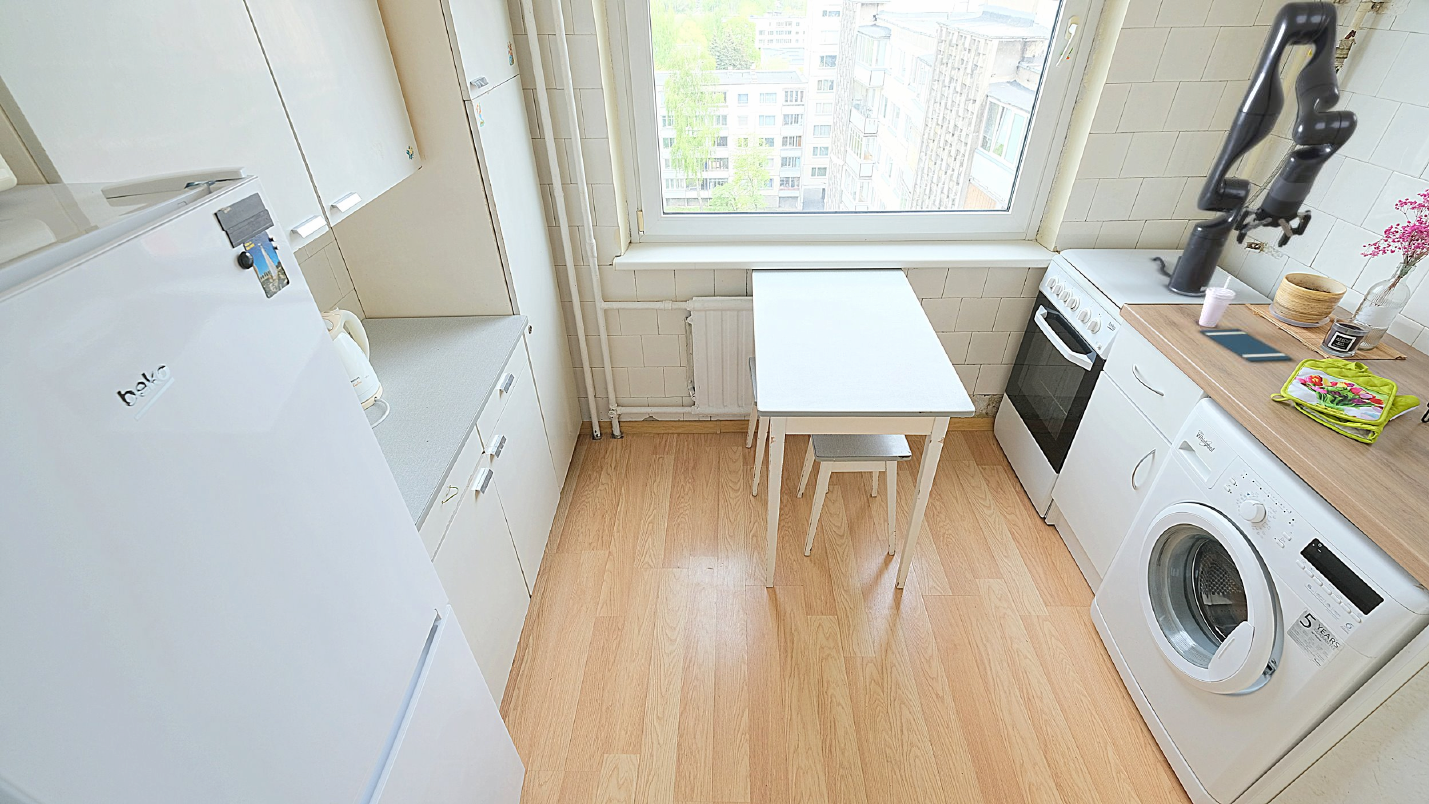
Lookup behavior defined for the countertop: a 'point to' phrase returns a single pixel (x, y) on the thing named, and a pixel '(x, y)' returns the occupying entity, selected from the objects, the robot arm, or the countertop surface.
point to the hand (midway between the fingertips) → (1259, 243)
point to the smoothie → (1215, 304)
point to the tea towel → (1245, 345)
